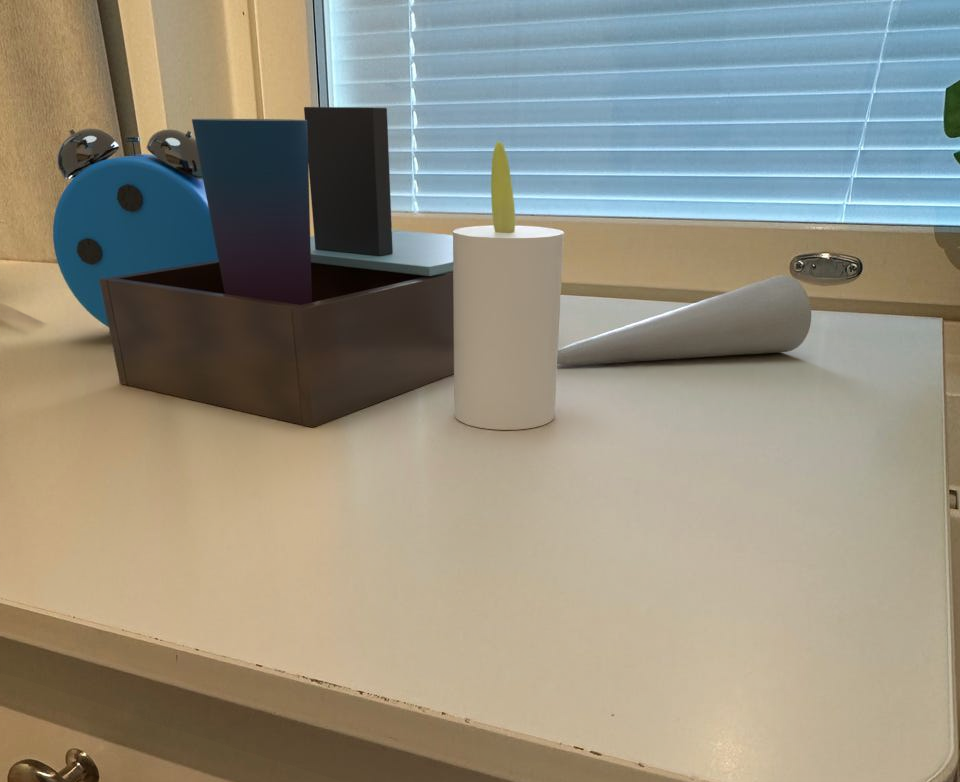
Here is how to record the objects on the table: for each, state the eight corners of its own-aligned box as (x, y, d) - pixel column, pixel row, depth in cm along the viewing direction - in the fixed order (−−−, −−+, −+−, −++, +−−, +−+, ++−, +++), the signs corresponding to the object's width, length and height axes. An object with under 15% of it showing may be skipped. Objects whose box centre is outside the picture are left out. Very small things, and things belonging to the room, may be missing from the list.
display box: (119, 383, 61) (98, 278, 57) (378, 315, 82) (374, 235, 78) (312, 427, 53) (301, 308, 49) (544, 339, 74) (548, 251, 70)
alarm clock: (251, 329, 76) (227, 128, 69) (237, 345, 71) (209, 130, 63) (97, 328, 76) (56, 127, 68) (72, 345, 71) (24, 128, 63)
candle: (577, 414, 56) (595, 141, 48) (505, 436, 52) (511, 142, 44) (505, 394, 59) (511, 138, 52) (433, 413, 56) (428, 139, 48)
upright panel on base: (243, 254, 67) (225, 106, 62) (369, 235, 78) (363, 107, 73) (429, 276, 59) (426, 107, 54) (541, 251, 70) (546, 109, 65)
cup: (208, 369, 61) (171, 118, 54) (293, 354, 65) (271, 118, 58) (257, 389, 57) (225, 119, 49) (346, 372, 61) (328, 120, 53)
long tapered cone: (587, 323, 60) (813, 275, 65) (544, 317, 65) (756, 274, 71) (594, 408, 62) (810, 355, 68) (552, 396, 68) (755, 347, 73)
